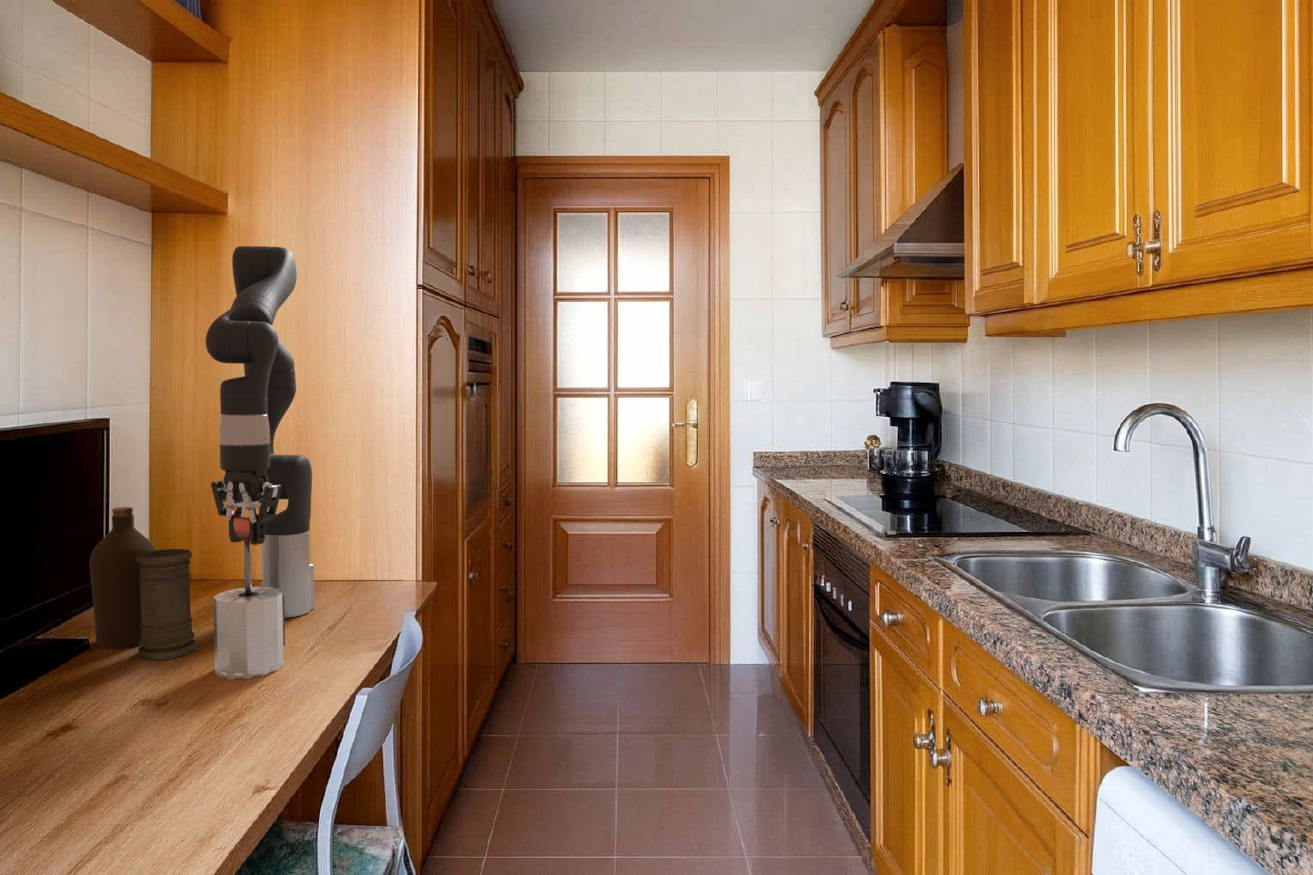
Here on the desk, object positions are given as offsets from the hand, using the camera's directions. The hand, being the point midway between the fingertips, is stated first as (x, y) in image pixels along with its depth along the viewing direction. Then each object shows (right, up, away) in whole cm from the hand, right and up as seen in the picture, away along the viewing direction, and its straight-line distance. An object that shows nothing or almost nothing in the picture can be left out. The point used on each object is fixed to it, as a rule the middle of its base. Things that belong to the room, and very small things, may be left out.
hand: (247, 542), depth 137 cm
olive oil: (-30, -20, +14) cm, 39 cm away
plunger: (0, -13, +1) cm, 13 cm away
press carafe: (0, -22, +2) cm, 22 cm away
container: (-19, -21, +9) cm, 30 cm away
